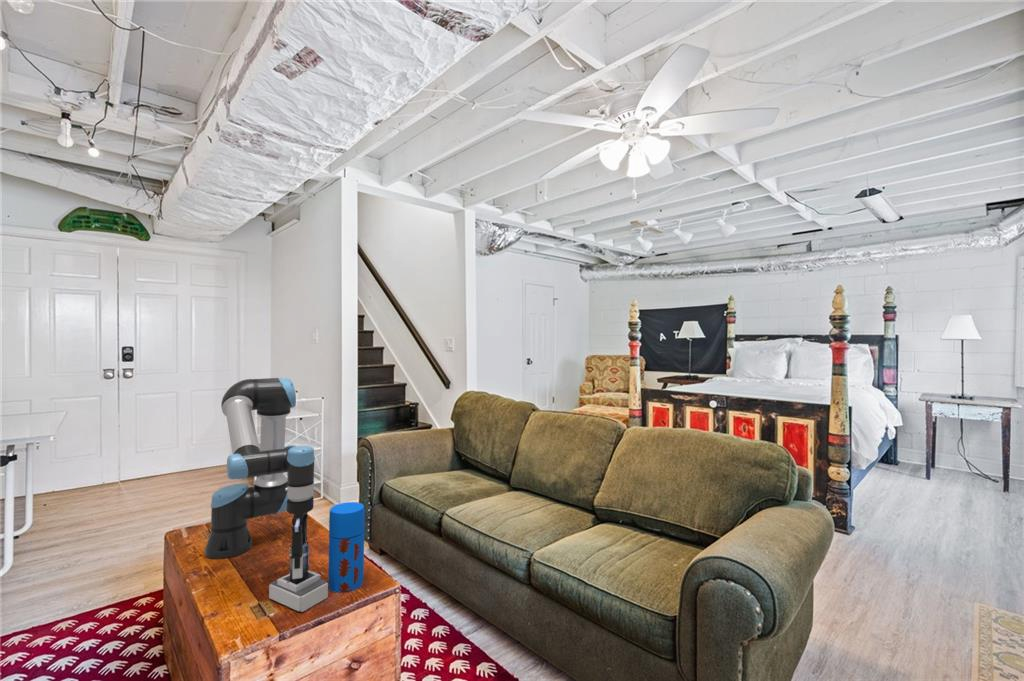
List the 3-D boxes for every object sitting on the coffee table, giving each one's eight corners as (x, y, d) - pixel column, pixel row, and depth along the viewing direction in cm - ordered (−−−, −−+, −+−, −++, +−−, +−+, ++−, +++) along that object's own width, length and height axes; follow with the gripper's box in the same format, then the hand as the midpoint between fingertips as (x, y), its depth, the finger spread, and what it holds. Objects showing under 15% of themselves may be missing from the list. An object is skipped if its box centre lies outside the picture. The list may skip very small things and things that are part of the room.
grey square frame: (269, 599, 141) (269, 577, 141) (296, 585, 150) (297, 564, 150) (300, 613, 134) (300, 590, 134) (327, 598, 143) (328, 576, 143)
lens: (284, 580, 141) (285, 547, 141) (301, 572, 146) (301, 540, 146) (296, 585, 139) (297, 551, 139) (312, 577, 143) (313, 544, 143)
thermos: (334, 576, 156) (335, 502, 156) (366, 575, 157) (367, 501, 157) (323, 593, 145) (325, 514, 145) (358, 592, 146) (360, 513, 146)
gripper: (292, 489, 150) (291, 560, 150) (281, 509, 132) (279, 590, 132) (317, 487, 152) (316, 557, 152) (309, 507, 135) (308, 586, 135)
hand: (299, 572), depth 142 cm, fingers closed on lens, 5 cm apart
